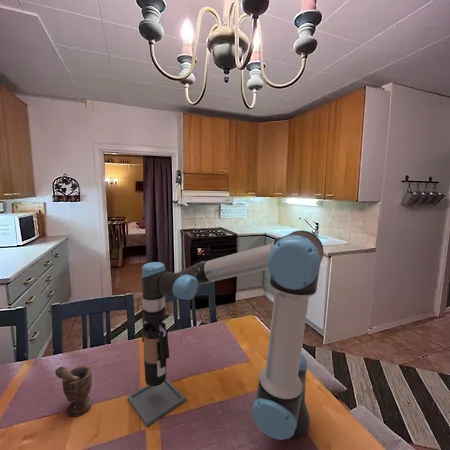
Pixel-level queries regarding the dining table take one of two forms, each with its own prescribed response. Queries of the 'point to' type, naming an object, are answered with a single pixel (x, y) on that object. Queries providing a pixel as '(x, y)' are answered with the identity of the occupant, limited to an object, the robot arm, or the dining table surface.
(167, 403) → the slate tray
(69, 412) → the mortar and pestle
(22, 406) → the dining table surface
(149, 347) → the travel mug
